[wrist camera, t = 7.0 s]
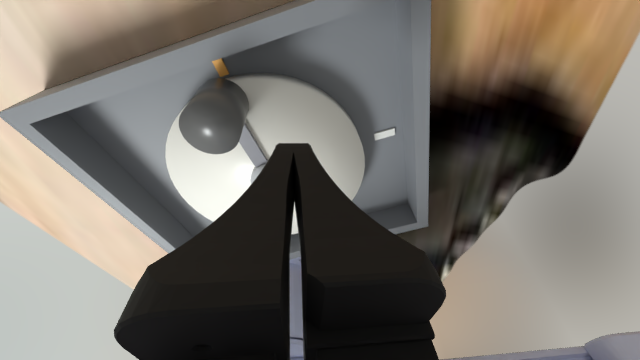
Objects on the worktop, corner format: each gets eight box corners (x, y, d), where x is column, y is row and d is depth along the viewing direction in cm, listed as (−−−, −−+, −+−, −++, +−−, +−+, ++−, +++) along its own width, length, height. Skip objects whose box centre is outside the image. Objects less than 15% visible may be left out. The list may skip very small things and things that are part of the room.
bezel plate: (414, 200, 27) (427, 226, 24) (210, 252, 29) (201, 280, 27) (404, -39, 14) (431, -42, 11) (43, 90, 16) (-4, 113, 14)
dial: (376, 199, 24) (391, 240, 21) (238, 240, 26) (230, 284, 23) (328, 25, 15) (340, 44, 11) (116, 113, 17) (67, 153, 13)
